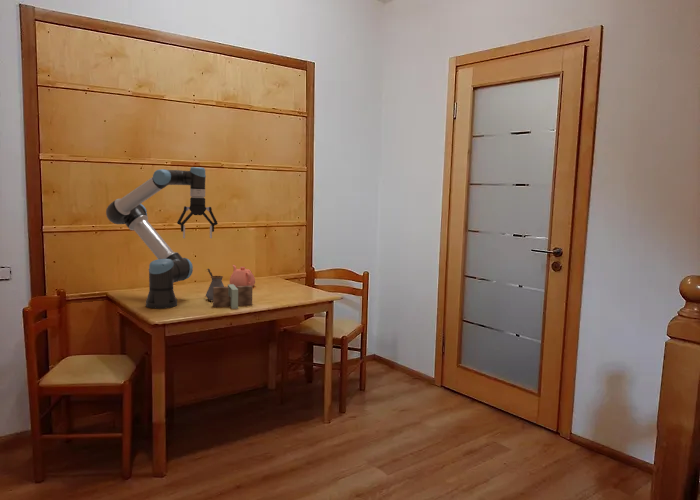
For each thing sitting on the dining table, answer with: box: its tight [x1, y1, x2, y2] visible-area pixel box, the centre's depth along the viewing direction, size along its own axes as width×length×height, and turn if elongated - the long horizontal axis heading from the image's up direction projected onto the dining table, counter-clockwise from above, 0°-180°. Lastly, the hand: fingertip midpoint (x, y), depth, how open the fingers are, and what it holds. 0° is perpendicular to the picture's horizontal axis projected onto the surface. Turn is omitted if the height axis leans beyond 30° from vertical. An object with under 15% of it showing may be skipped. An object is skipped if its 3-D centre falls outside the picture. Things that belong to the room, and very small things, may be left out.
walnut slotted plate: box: [212, 285, 253, 308], centre depth 278 cm, size 20×3×10 cm, turn 112°
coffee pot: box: [205, 268, 225, 302], centre depth 293 cm, size 21×12×15 cm, turn 33°
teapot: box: [229, 264, 256, 288], centre depth 328 cm, size 22×16×12 cm
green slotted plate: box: [227, 283, 239, 310], centre depth 278 cm, size 3×14×10 cm, turn 22°
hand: (197, 238), depth 276 cm, fingers open, 13 cm apart
